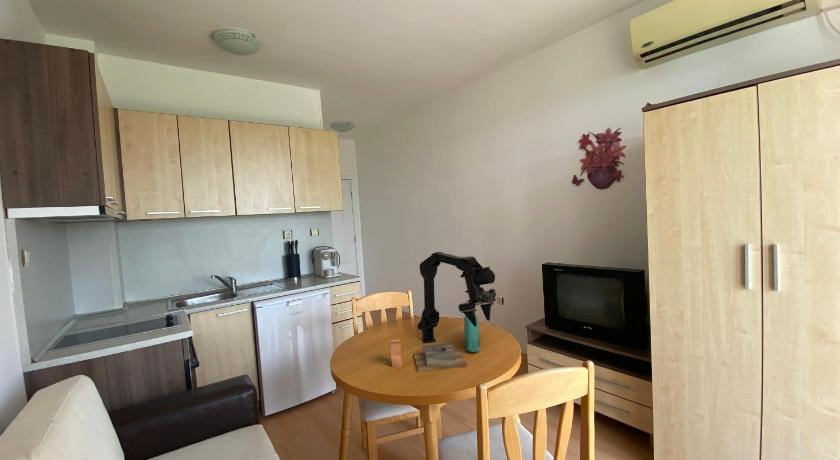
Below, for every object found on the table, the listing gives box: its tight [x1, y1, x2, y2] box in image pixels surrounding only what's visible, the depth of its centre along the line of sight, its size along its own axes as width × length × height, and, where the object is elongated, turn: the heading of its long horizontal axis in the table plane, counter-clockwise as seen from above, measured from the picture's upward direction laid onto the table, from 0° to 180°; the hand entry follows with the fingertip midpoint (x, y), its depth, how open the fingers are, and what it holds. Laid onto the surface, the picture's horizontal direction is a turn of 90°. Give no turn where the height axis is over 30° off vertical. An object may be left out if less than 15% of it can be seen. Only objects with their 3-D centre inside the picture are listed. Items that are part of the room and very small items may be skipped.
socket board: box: [413, 342, 468, 373], centre depth 148 cm, size 16×20×5 cm
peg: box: [389, 338, 403, 368], centre depth 147 cm, size 4×4×10 cm
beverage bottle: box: [463, 314, 481, 353], centre depth 154 cm, size 6×7×20 cm
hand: (482, 323), depth 146 cm, fingers open, 9 cm apart
